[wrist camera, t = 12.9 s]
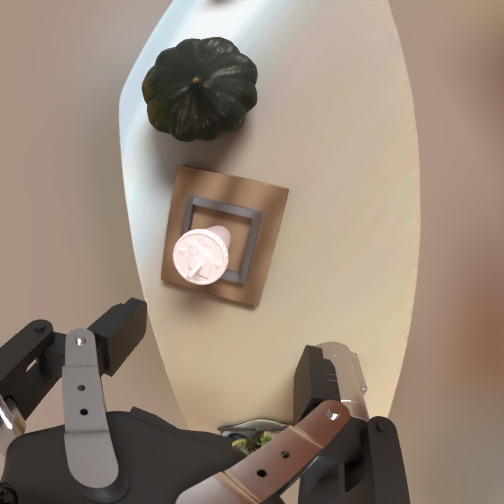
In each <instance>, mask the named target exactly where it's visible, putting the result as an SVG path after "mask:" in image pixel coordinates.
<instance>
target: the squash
mask: <svg viewBox="0 0 504 504" xmlns="http://www.w3.org/2000/svg"><path fill="white" fill-rule="evenodd" d="M257 77H258V74H257V68H256V66H255V64H254V63H253V62H252V61H251V60H250V59H249V58H248V57H247V56H245V55H244V54H241V53H240V51H239V50H238V48H237V47H236V46H235V45H234V44H233V43H232V42H231V41H229V40H227V39H224V38H221V37H212V38H206V39H202V40H200V39H193V38H192V39H186V40H183V41H182V42H180V43H179V44H178V45H177V46H176V47H173V48H169V49H166V50H164V51H162V52H161V53H160V54H159V56H158V57H157V59H156V62H155V66H153V67H152V68H151V69H150V70H149V71H148V73H147V75H146V76H145V78H144V81H143V83H142V93H143V97H144V100H145V102H146V104H147V113H148V118H149V121H150V123H151V124H152V125H153V126H154V127H155V128H156V129H157V130H158V131H161V132H164V133H171V134H172V135H173V136H174V137H175V138H176V139H178V140H180V141H184V142H190V141H193V140H195V139H196V138H199V139H202V140H206V141H210V140H214V139H216V138H217V137H218V136H219V135H220V134H221V133H228V132H232V131H235V130H237V129H239V128H240V127H241V125H242V124H243V121H244V117H245V113H246V112H248V111H249V110H251V109H252V108H253V107H254V106H255V105H256V103H257V91H256V88H255V84H256V81H257Z"/></svg>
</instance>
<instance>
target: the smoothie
mask: <svg viewBox="0 0 504 504" xmlns="http://www.w3.org/2000/svg"><path fill="white" fill-rule="evenodd" d="M230 243H231V235H230V232H229V231H228V230H227V229H226V228H225V227H223V226H213V227H210V228H207V229H195V230H191V231H189V232H187V233H185V234H184V235H183V236H182V237H181V238H180V239H179V240H178V241H177V243H176V244H175V247H174V250H173V261H174V264H175V267H176V269H177V271H178V272H179V274H180V275H181V276H182V277H183V278H184V279H186V280H187V281H189V282H191V283H194V284H198V285H207V284H211V283H213V282H215V281H217V280H218V279H219V278H220V277H221V276H222V275H223V273H224V272H225V270H226V268H227V265H228V251H229V247H230Z"/></svg>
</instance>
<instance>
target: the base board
mask: <svg viewBox="0 0 504 504" xmlns="http://www.w3.org/2000/svg"><path fill="white" fill-rule="evenodd" d="M288 192H289V189H287V188H283V187H279V186H275V185H271V184H267V183H263V182H259V181H254V180H250V179H246V178H241V177H237V176H232V175H228V174H223V173H218V172H214V171H209V170H204V169H199V168H193V167H188V166H183V165H180V166H178V168H177V173H176V178H175V183H174V189H173V195H172V201H171V207H170V213H169V219H168V226H167V233H166V240H165V248H164V256H163V265H162V274H161V280H165V281H168V282H171V283H175V284H178V285H181V286H185V287H188V288H191V289H195V290H198V291H202V292H205V293H209V294H213V295H216V296H220V297H223V298H227V299H231V300H234V301H238V302H242V303H246V304H250V305H254V306H257V307H258V306H259V302H260V298H261V295H262V291H263V287H264V284H265V280H266V276H267V273H268V269H269V265H270V261H271V258H272V254H273V250H274V246H275V243H276V239H277V235H278V231H279V227H280V224H281V220H282V216H283V212H284V208H285V204H286V200H287V196H288ZM213 226H223V227H225V228H226V229H227V230H228V231H229V232H230V235H231V243H230V247H229V251H228V265H227V268H226V270H225V272H224V273H223V275H222V276H221V277H220V278H219V279H218V280H217V281H215V282H213V283H211V284H207V285H198V284H194V283H191V282H189V281H187V280H186V279H184V278H183V277H182V276H181V275H180V274H179V272H178V271H177V269H176V267H175V264H174V261H173V250H174V247H175V244H176V243H177V241H178V240H179V239H180V238H181V237H182V236H183V235H184V234H185V233H187V232H189V231H191V230H195V229H207V228H210V227H213Z"/></svg>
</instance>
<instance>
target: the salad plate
mask: <svg viewBox="0 0 504 504" xmlns="http://www.w3.org/2000/svg"><path fill="white" fill-rule="evenodd" d="M288 426H290V425H286V424H282V423H279V422H276V421H272V420H266V419H255V420H251V421H247V422H244V423H241V424H237V425H234V426H226V427H220V428H218V429H217V430H219V431H222V436H225V437H229V438H233V442H232V446H234V447H236V448H238V449H240V450H242V451H243V452H244V453H246V454H247V455H248V456H249V455H251V454H252V453H253V452H255V451H256V450H258V449H259V448H261V447H262V446H263V445H265V444H266V443H267V442H269V441H270V440H271V439H273V438H274V437H275V436H277V435H278V434H279V433H281V432H282V431H283V430H284V429H286V428H287V427H288Z"/></svg>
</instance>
